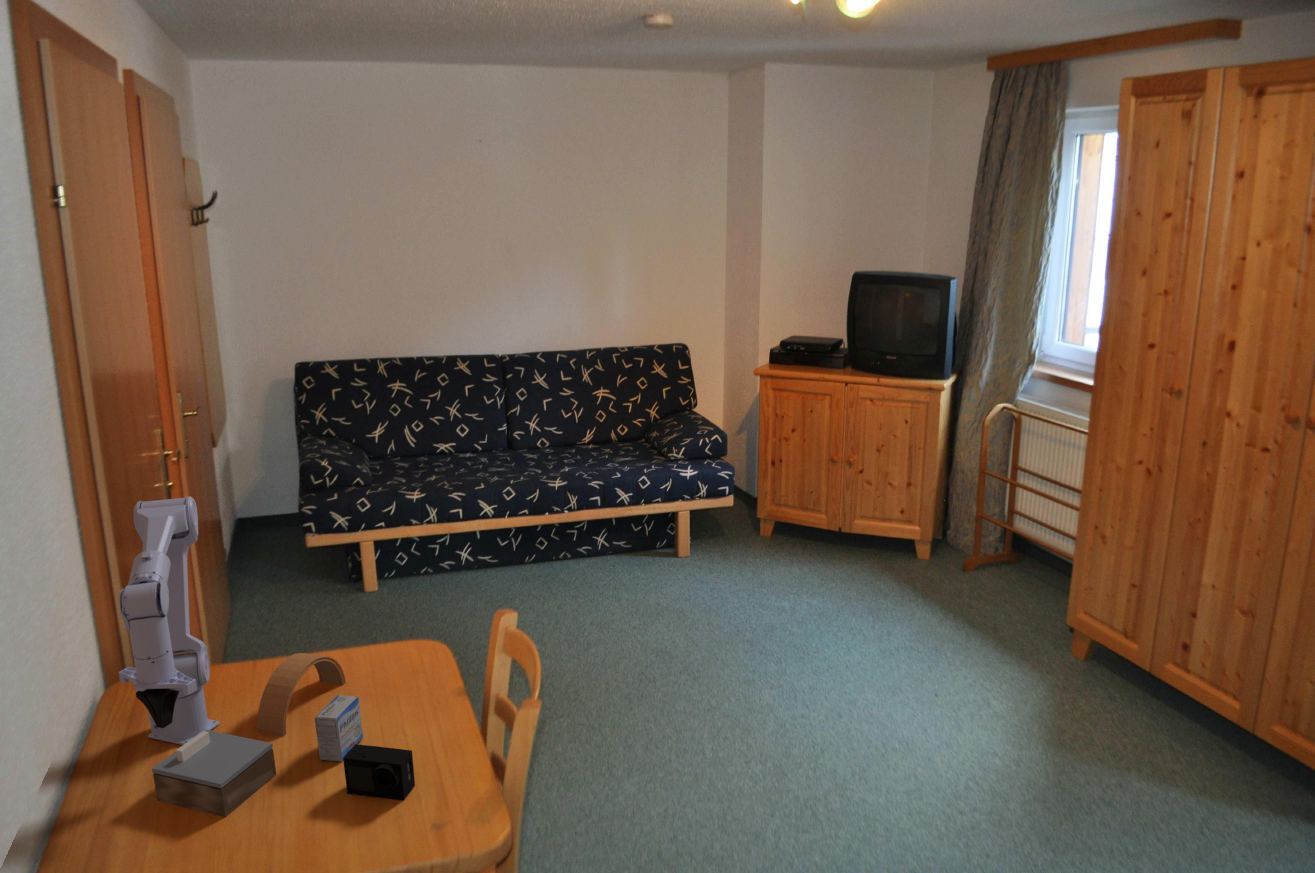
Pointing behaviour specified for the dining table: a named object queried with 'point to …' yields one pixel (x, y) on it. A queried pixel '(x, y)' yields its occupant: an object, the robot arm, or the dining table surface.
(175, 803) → the box
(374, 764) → the digital camera
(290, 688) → the arch
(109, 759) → the dining table surface
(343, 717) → the medicine box
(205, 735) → the lid
